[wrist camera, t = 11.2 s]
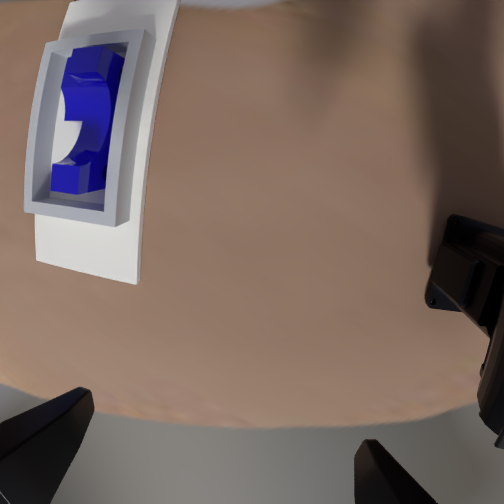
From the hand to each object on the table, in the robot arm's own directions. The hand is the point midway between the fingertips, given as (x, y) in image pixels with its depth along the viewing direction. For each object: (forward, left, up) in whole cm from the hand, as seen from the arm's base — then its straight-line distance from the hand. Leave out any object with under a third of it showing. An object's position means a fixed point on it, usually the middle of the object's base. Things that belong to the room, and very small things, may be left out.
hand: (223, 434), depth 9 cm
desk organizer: (+12, -9, -12) cm, 19 cm away
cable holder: (+11, -9, -12) cm, 19 cm away
